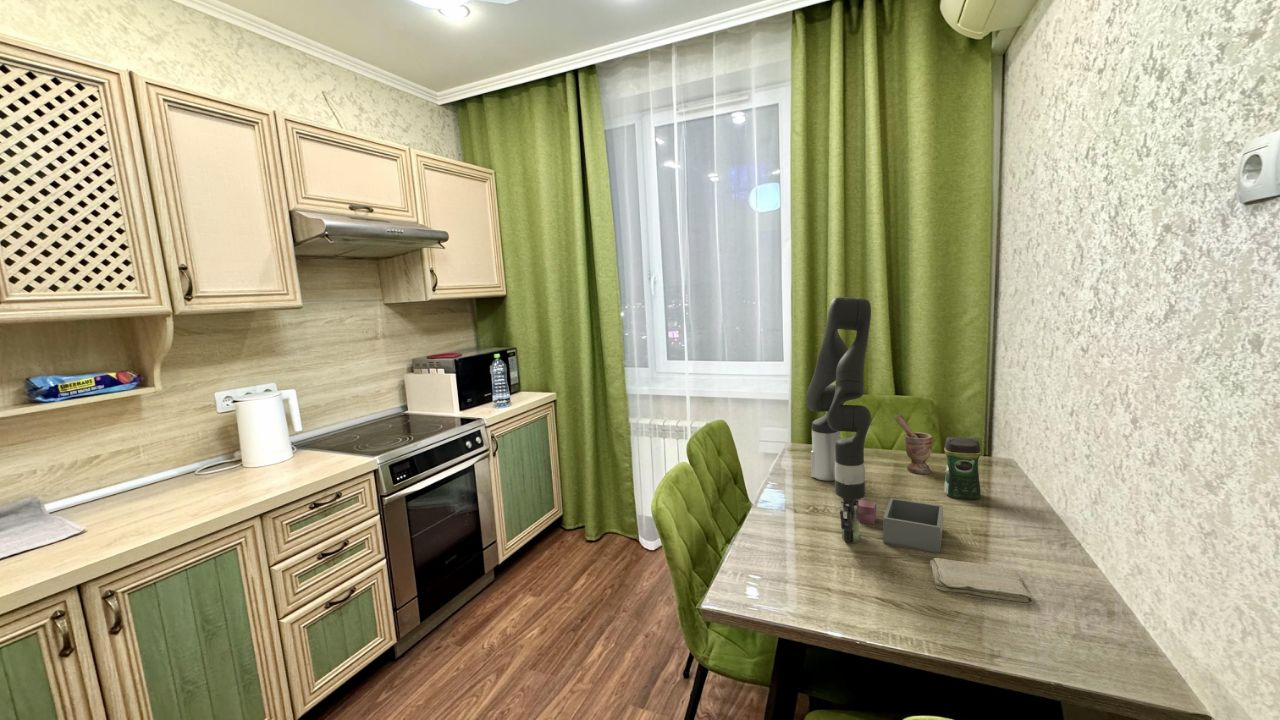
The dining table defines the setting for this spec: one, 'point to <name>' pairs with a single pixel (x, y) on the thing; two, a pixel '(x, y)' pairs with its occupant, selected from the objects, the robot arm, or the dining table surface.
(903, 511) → the bin
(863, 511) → the pink cube
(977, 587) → the washcloth
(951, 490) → the coffee jar
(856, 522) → the green cylinder
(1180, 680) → the dining table surface
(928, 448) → the mortar and pestle
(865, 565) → the dining table surface
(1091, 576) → the dining table surface
